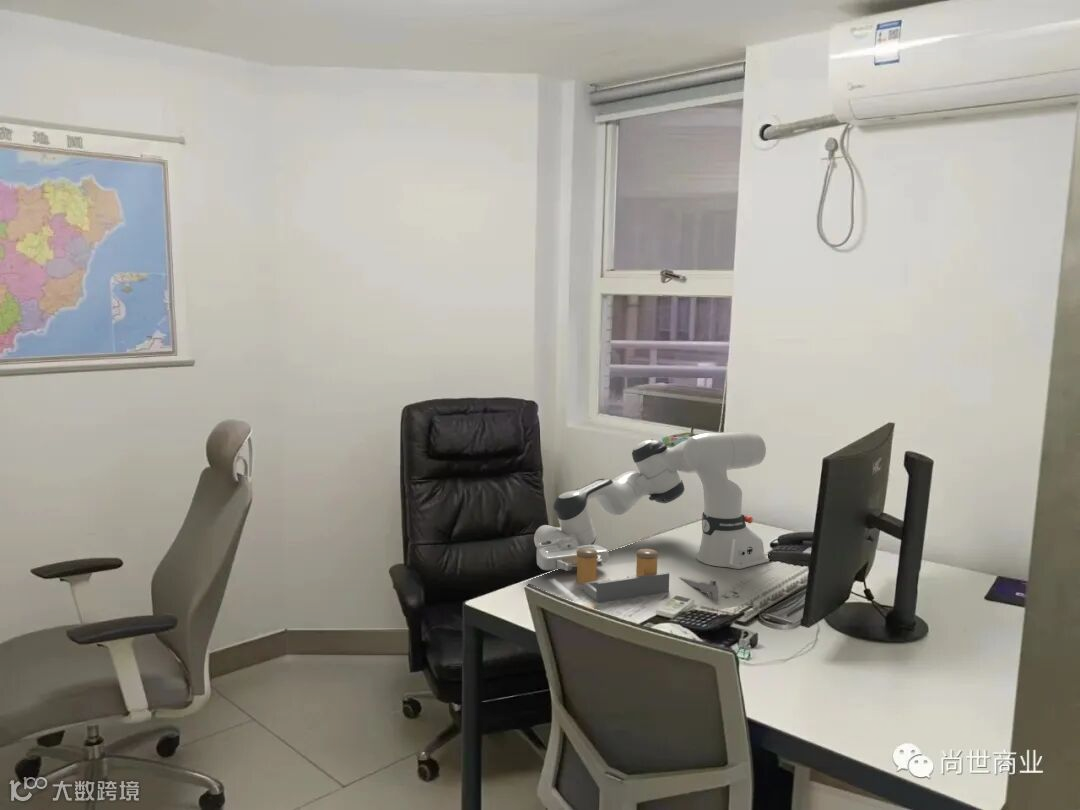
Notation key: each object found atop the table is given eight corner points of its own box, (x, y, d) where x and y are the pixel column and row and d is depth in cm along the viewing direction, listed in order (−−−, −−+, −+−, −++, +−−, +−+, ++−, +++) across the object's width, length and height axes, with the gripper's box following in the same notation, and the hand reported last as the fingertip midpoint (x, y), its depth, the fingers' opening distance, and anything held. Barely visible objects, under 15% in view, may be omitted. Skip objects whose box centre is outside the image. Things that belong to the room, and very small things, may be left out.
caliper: (718, 606, 208) (719, 582, 207) (714, 606, 207) (715, 583, 206) (678, 580, 227) (678, 558, 226) (674, 580, 226) (675, 558, 225)
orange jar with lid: (650, 582, 220) (650, 547, 219) (660, 589, 215) (661, 554, 214) (632, 585, 218) (632, 550, 217) (642, 592, 213) (643, 556, 212)
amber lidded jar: (591, 581, 225) (591, 547, 223) (600, 587, 219) (600, 553, 218) (572, 583, 222) (573, 549, 221) (581, 590, 217) (582, 555, 216)
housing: (649, 583, 223) (650, 562, 222) (668, 595, 214) (669, 573, 213) (581, 593, 215) (581, 571, 214) (597, 607, 206) (598, 583, 205)
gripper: (596, 557, 238) (618, 572, 225) (532, 565, 230) (551, 581, 217) (596, 536, 237) (618, 550, 224) (532, 544, 229) (551, 559, 217)
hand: (584, 565), depth 221 cm, fingers open, 8 cm apart
